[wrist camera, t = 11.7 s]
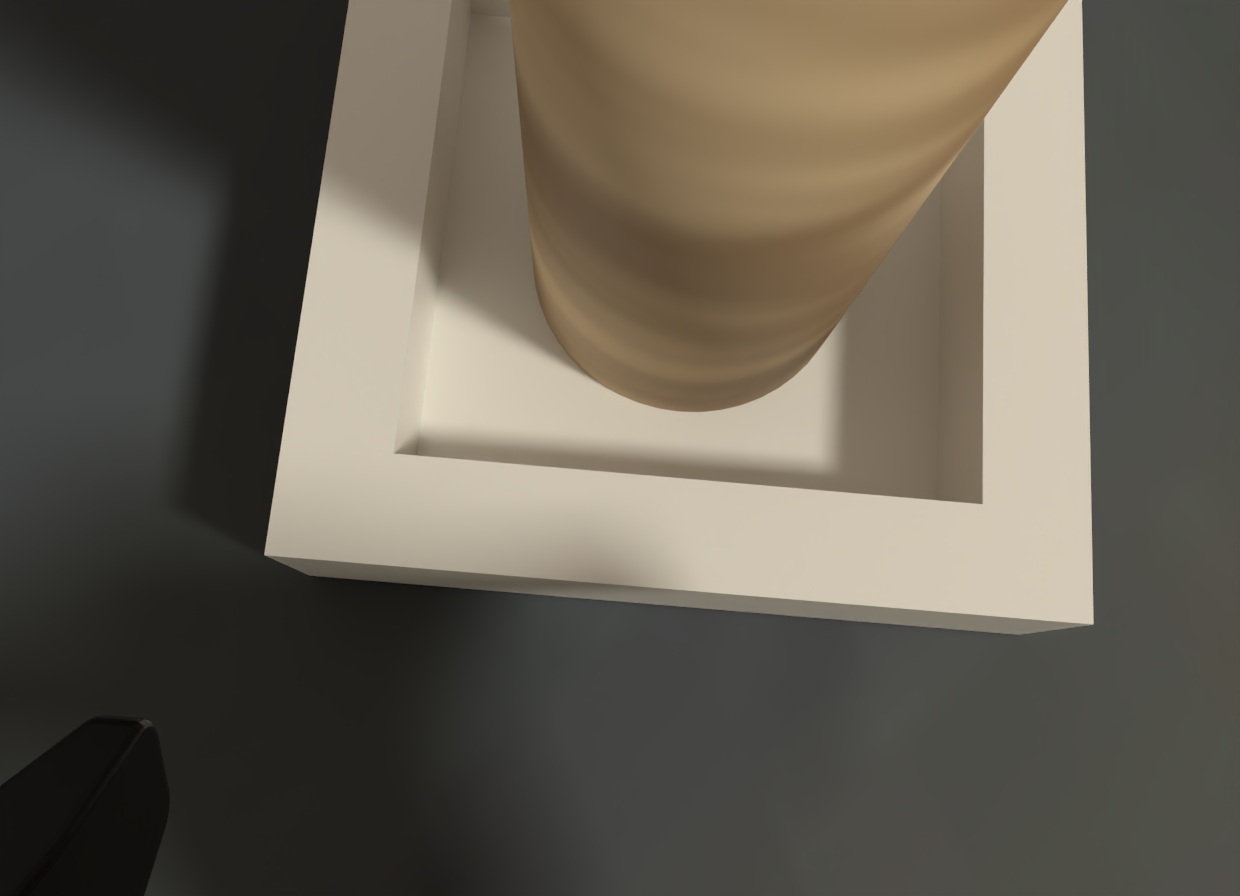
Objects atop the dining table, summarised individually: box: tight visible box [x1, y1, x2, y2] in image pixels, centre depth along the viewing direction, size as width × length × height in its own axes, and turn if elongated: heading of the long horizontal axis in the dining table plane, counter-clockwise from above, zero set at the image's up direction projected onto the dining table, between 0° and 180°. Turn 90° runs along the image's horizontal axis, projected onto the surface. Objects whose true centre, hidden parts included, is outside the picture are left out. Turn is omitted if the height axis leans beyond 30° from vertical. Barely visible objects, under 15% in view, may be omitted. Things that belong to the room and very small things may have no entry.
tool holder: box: [264, 0, 1093, 635], centre depth 17 cm, size 11×11×2 cm
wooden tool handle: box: [509, 0, 1068, 412], centre depth 11 cm, size 5×5×13 cm
